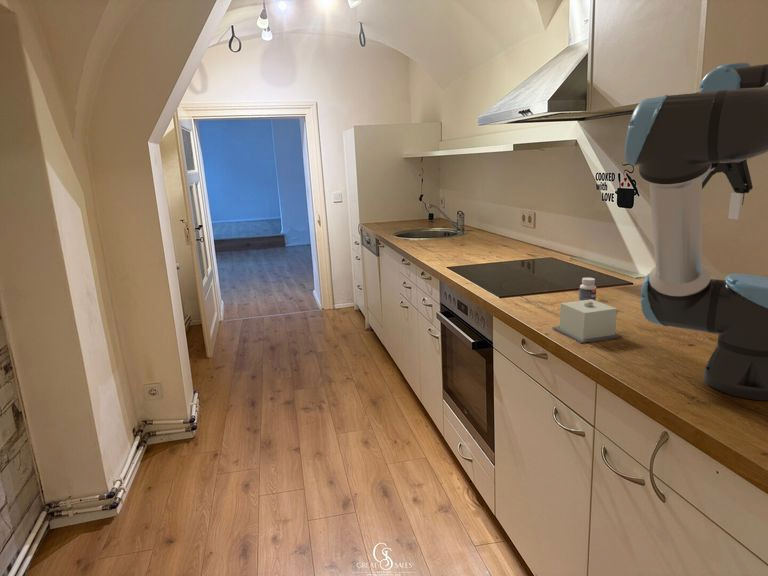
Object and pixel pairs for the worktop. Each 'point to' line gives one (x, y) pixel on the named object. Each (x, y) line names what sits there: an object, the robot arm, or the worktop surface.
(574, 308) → the cover
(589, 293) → the pill bottle
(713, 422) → the worktop surface
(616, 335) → the mat
